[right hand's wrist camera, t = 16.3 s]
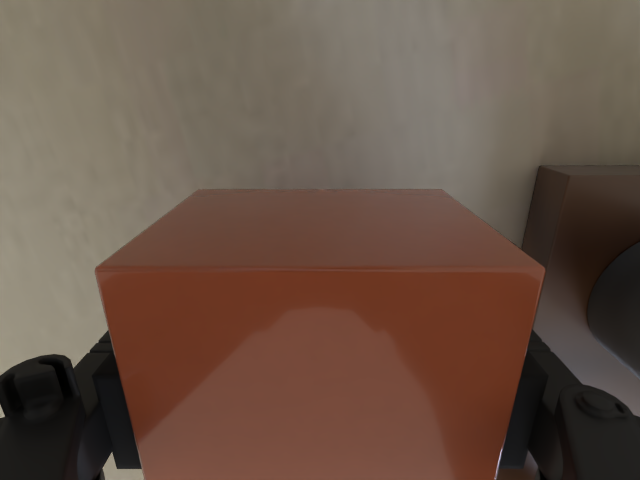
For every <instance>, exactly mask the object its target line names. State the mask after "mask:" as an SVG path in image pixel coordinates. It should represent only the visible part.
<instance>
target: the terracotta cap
mask: <svg viewBox="0 0 640 480" xmlns="http://www.w3.org/2000/svg"><path fill="white" fill-rule="evenodd" d="M545 272H546V271H545V267H544V266H543V265H541V264H540V263H539V262H537V261H536V260H535V259H533V258H532V257H531V256H529V255H528V254H527V253H525V252H524V251H523V250H521V249H520V248H519V247H517V246H516V245H515V244H514V243H512V242H511V241H510V240H508V239H507V238H506V237H504V236H503V235H502V234H500V233H499V232H498V231H496V230H495V229H494V228H492V227H491V226H490V225H488V224H487V223H486V222H484V221H483V220H482V219H480V218H479V217H478V216H477V215H475V214H474V213H473V212H471V211H470V210H469V209H467V208H466V207H465V206H463V205H462V204H461V203H459V202H458V201H457V200H455V199H454V198H453V197H451V196H450V195H449V194H447V193H446V192H445V191H443V190H441V189H199V190H197V191H196V192H194V193H193V194H192V195H190V196H189V197H188V198H186V199H185V200H184V201H182V202H181V203H180V204H178V205H177V206H176V207H174V208H173V209H172V210H170V211H169V212H168V213H166V214H165V215H164V216H163V217H161V218H160V219H159V220H157V221H156V222H155V223H153V224H152V225H151V226H149V227H148V228H147V229H145V230H144V231H143V232H141V233H140V234H139V235H137V236H136V237H135V238H133V239H132V240H131V241H130V242H128V243H127V244H126V245H124V246H123V247H122V248H120V249H119V250H118V251H116V252H115V253H114V254H112V255H111V256H110V257H108V258H107V259H106V260H104V261H103V262H102V263H100V264H99V265H98V266H97V267H96V268H95V275H96V280H97V284H98V288H99V292H100V296H101V300H102V305H103V309H104V313H105V317H106V321H107V325H108V330H109V334H110V338H111V342H112V346H113V350H114V355H115V359H116V363H117V367H118V371H119V375H120V380H121V384H122V388H123V392H124V396H125V400H126V405H127V409H128V413H129V417H130V421H131V425H132V430H133V434H134V438H135V442H136V446H137V450H138V455H139V459H140V463H141V467H142V471H143V475H144V480H496V477H497V473H498V469H499V464H500V460H501V456H502V452H503V448H504V443H505V439H506V435H507V431H508V427H509V423H510V418H511V414H512V410H513V406H514V402H515V398H516V393H517V389H518V385H519V381H520V377H521V372H522V368H523V364H524V360H525V356H526V352H527V347H528V343H529V339H530V335H531V331H532V327H533V322H534V318H535V314H536V310H537V306H538V302H539V297H540V293H541V289H542V285H543V281H544V276H545Z"/></svg>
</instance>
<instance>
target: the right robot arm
mask: <svg viewBox="0 0 640 480" xmlns="http://www.w3.org/2000/svg"><path fill="white" fill-rule="evenodd" d="M0 404H1V407H2V409H3V412H4V415H5V417H3V418H0V480H105V477H104V472H103V469H102V468H103V466H104V464H105V463H106V461H107V459H108V457H109V456H110V454H111V452H113V456H114V460H115V463H116V467H117V469H142V467H141V463H140V459H139V455H138V450H137V446H136V442H135V438H134V434H133V430H132V425H131V421H130V417H129V413H128V409H127V405H126V400H125V396H124V392H123V388H122V384H121V380H120V375H119V371H118V367H117V363H116V359H115V355H114V350H113V346H112V342H111V338H110V334H109V330H108V331H107V332H106V333H105V334H104V335H103V337H102V338H101V339H100V340H99V342H98V343H96V344H95V345H94V346H93V348H92V349H91V350H90V353H87V354H86V355H85V356H84V357H83V359H82V360H81V361H80V362H79V363H78V364H77V365H76V366H75V367H74V369H73V367H72V363H71V360H70V359H69V358H67V357H66V356H64V355H56V354H52V355H44V356H39V357H36V358H32V359H29V360H26V361H24V362H22V363H20V364H18V365H16V366H13V367H12V368H10V369H9V370H7V371H6V372H5V373H3V374H2V375H0ZM528 450H529V452H530V453H531V455H532V457H533V459H534V460H535V462H536V464H537V465H538V469H537V472H536V476H535V479H534V480H640V417H639V416H636V415H633V413H632V412H631V410H630V409H629V408H628V406H626V405H625V404H624V403H623V402H621V401H620V400H619V399H618V398H616V397H615V396H613V395H611V394H609V393H607V392H605V391H604V390H601V389H598V388H595V387H592V386H589V385H583V384H582V383H581V382H580V381H579V380H578V378H577V377H576V376H575V375H574V374H573V373H572V372H571V371H570V370H569V369H568V368H567V366H566V365H565V364H564V363H563V362H562V361H561V360H560V359H559V358H558V357H557V355H556V354H555V353H554V352H551V349H550V348H549V347H548V346H547V345H546V343H545V342H542V339H541V338H540V337H539V336H538V335H537V334H536V332H535V331H534V330H533V329H532V331H531V335H530V339H529V343H528V347H527V352H526V356H525V360H524V364H523V368H522V372H521V377H520V381H519V385H518V389H517V393H516V398H515V402H514V406H513V410H512V414H511V418H510V423H509V427H508V431H507V435H506V439H505V443H504V448H503V452H502V456H501V460H500V464H499V469H523V468H524V464H525V460H526V457H527V453H528Z"/></svg>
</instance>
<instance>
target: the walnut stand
mask: <svg viewBox="0 0 640 480" xmlns="http://www.w3.org/2000/svg"><path fill="white" fill-rule="evenodd" d="M522 250H523V251H524V252H525V253H527V254H528V255H529V256H531V257H532V258H533V259H535V260H536V261H537V262H539V263H540V264H541V265H543V266H544V267H545V271H546V272H545V276H544V281H543V285H542V289H541V293H540V297H539V302H538V306H537V310H536V314H535V318H534V322H533V327H532V329H533V330H534V331H535V332H536V334H537V335H538V336H539V337H540V338H541V339H542V342H545V343H546V345H547V346H548V347H549V348H550V349H551V352H554V353H555V354H556V355H557V357H558V358H559V359H560V360H561V361H562V362H563V363H564V364H565V365H566V366H567V368H568V369H569V370H570V371H571V372H572V373H573V374H574V375H575V376H576V377H577V378H578V380H579V381H580V382H581V383H582V384H583V385H589V386H592V387H595V388H598V389H601V390H604V391H605V392H607V393H609V394H611V395H613V396H615V397H616V398H618V399H619V400H620V401H621V402H623V403H624V404H625V405H626V406H628V408H629V409H630V410H631V412H632V413H633V415H636V416H639V417H640V166H540V167H539V170H538V175H537V180H536V184H535V189H534V194H533V199H532V203H531V208H530V213H529V218H528V222H527V227H526V232H525V236H524V241H523V246H522ZM537 469H538V465H537V464H536V462H535V460H534V459H533V457H532V455H531V453H530V452H529V450H528V453H527V457H526V460H525V464H524V468H523V469H498V473H497V477H496V480H534V479H535V476H536V472H537Z"/></svg>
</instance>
